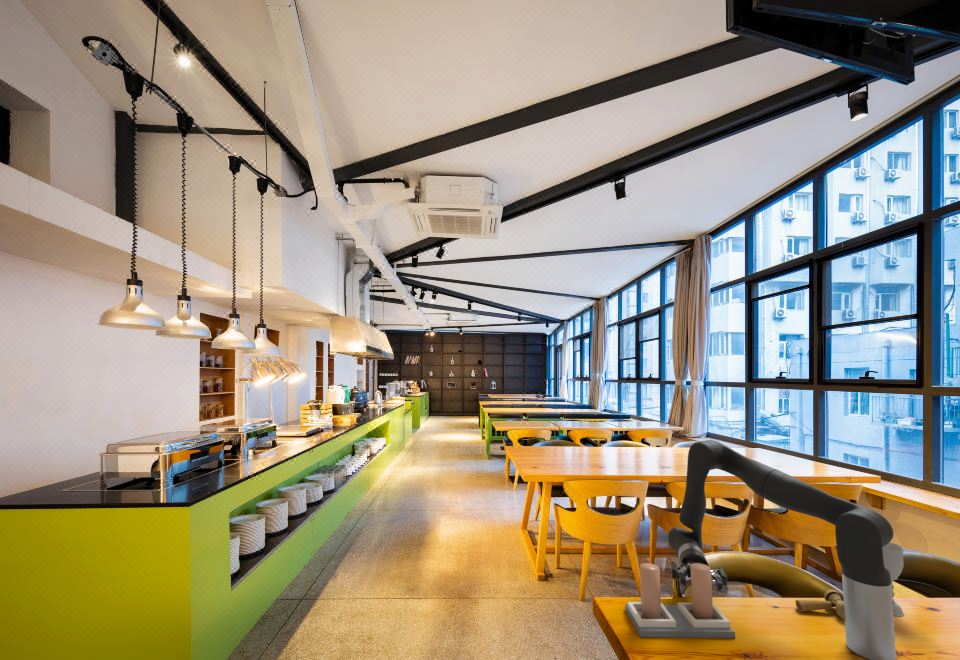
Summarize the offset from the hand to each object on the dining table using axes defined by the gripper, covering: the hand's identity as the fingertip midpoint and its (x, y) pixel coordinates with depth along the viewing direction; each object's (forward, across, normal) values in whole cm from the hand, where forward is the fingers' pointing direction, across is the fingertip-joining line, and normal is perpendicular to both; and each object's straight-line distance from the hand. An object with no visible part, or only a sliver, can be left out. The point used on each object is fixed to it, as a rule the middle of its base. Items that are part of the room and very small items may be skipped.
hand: (702, 585), depth 122 cm
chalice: (-23, +52, +10) cm, 58 cm away
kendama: (-17, +36, +10) cm, 41 cm away
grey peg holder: (+2, -7, +10) cm, 12 cm away
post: (0, 0, +8) cm, 9 cm away
